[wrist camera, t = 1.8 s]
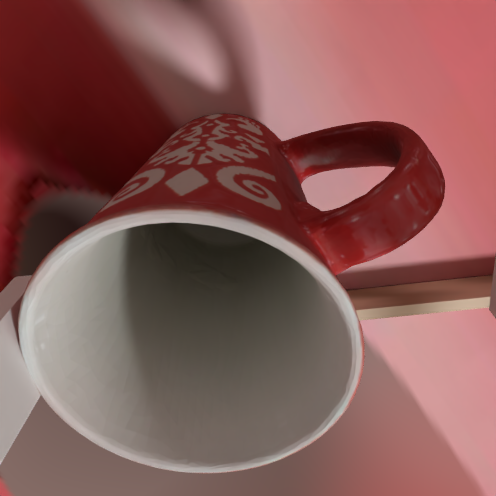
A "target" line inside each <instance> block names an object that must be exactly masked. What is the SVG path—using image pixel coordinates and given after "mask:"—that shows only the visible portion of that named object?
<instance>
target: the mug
mask: <svg viewBox="0 0 496 496" xmlns="http://www.w3.org/2000/svg"><path fill="white" fill-rule="evenodd" d="M370 166H388V167H395V169H394V170H393V171H392V172H391V173H390V174H389V175H388V176H387V177H386V178H385V179H384V180H383V181H382V182H380V183H379V184H377V185H376V186H375V187H374V188H372V189H371V190H370V191H369V192H368V193H367V194H365V195H363V196H361V197H359V198H357V199H355V200H353V201H352V202H350V203H348V204H346V205H344V206H342V207H340V208H337V209H333V210H329V211H320V210H319V209H317V208H315V207H313V206H312V205H310V204H309V203H307V200H306V197H305V195H304V193H303V190H302V188H301V183H302V182H303V181H304V180H305V179H306V178H308V177H309V176H312V175H315V174H317V173H320V172H324V171H329V170H334V169H344V168H354V167H370ZM444 193H445V180H444V177H443V173H442V170H441V168H440V166H439V164H438V162H437V161H436V159H435V158H434V156H433V155H432V153H431V152H430V150H429V149H428V147H427V146H426V144H425V143H424V142H423V140H422V139H421V138H420V137H419V135H417V134H416V133H415V132H414V131H412V130H411V129H409V128H408V127H406V126H404V125H401V124H397V123H394V122H382V121H370V122H360V123H353V124H347V125H341V126H336V127H331V128H327V129H323V130H319V131H315V132H311V133H308V134H304V135H301V136H298V137H295V138H292V139H289V140H286V141H281V140H280V139H279V138H278V137H277V136H276V135H275V134H274V133H273V132H272V131H270V130H269V129H268V128H267V127H265V126H264V125H262V124H260V123H259V122H257V121H255V120H252V119H250V118H247V117H244V116H240V115H235V114H214V115H208V116H204V117H200V118H198V119H195V120H193V121H191V122H189V123H187V124H186V125H184V126H182V127H181V128H180V129H179V130H177V131H176V132H175V133H174V134H173V135H171V136H170V137H169V138H168V139H167V141H166V142H165V143H164V144H163V145H162V146H161V147H160V148H159V149H158V151H157V152H156V153H155V154H154V155H153V156H152V157H151V158H150V159H149V160H148V161H147V162H145V163H144V165H143V166H142V167H141V168H140V169H139V170H138V171H137V172H136V174H135V175H134V176H133V177H132V178H131V179H130V180H129V181H128V182H127V183H126V184H125V185H124V186H123V187H122V188H121V189H120V190H119V191H118V192H117V193H116V194H115V195H114V196H113V197H112V198H111V200H110V201H109V202H108V203H107V204H106V205H105V206H104V207H103V208H102V209H101V210H100V211H99V212H98V213H97V214H96V215H95V216H94V217H93V218H92V219H91V220H90V221H89V223H88V224H86V225H84V226H83V227H81V228H80V229H77V230H76V231H74V232H73V233H71V234H70V235H69V236H67V237H66V238H65V239H63V240H62V241H61V242H60V243H59V244H57V245H56V246H55V247H54V248H53V249H52V250H51V251H50V252H49V253H48V254H47V255H46V257H44V259H43V260H42V261H41V263H40V264H39V265H38V267H37V268H36V270H35V272H34V273H33V275H32V277H31V279H30V280H29V282H28V284H27V287H26V289H25V292H24V294H23V297H22V301H21V305H20V311H19V315H18V332H19V345H20V348H21V352H22V356H23V359H24V362H25V364H26V367H27V369H28V371H29V373H30V375H31V377H32V379H33V381H34V383H35V385H36V387H37V389H38V391H39V393H40V394H41V396H42V397H43V398H44V400H45V401H46V402H47V404H48V405H49V406H50V407H51V408H52V409H53V410H54V412H55V413H56V414H57V415H58V416H59V417H60V418H61V419H62V420H64V421H65V422H66V423H67V424H68V425H69V426H71V427H72V428H73V429H75V430H76V431H77V432H78V433H80V434H81V435H83V436H85V437H86V438H87V439H89V440H90V441H92V442H93V443H95V444H97V445H98V446H100V447H102V448H104V449H106V450H109V451H110V452H112V453H114V454H117V455H119V456H121V457H124V458H126V459H129V460H132V461H135V462H138V463H141V464H145V465H148V466H152V467H156V468H160V469H166V470H171V471H180V472H189V473H223V472H232V471H240V470H246V469H251V468H255V467H259V466H263V465H267V464H269V463H272V462H274V461H277V460H280V459H283V458H285V457H287V456H289V455H291V454H293V453H295V452H297V451H299V450H301V449H303V448H304V447H306V446H308V445H309V444H311V443H313V442H314V441H315V440H317V439H318V438H319V437H321V436H322V435H323V434H324V433H325V432H326V431H327V430H329V429H330V428H331V427H332V426H333V425H334V424H335V423H336V422H337V421H338V420H339V419H340V417H341V416H342V415H343V413H344V412H345V410H346V409H347V408H348V407H349V406H350V404H351V401H352V400H353V398H354V396H355V394H356V391H357V388H358V386H359V383H360V380H361V376H362V372H363V366H364V339H363V333H362V328H361V324H360V321H359V318H358V315H357V312H356V310H355V307H354V304H353V302H352V301H351V299H350V297H349V294H348V293H347V291H346V290H345V288H344V287H343V286H342V284H341V283H340V282H339V280H338V279H337V277H336V275H337V274H339V273H341V272H342V271H344V270H346V269H348V268H349V267H351V266H353V265H357V264H360V263H364V262H367V261H370V260H373V259H375V258H377V257H380V256H382V255H384V254H387V253H389V252H391V251H393V250H394V249H396V248H398V247H400V246H402V245H403V244H405V243H406V242H407V241H409V240H410V239H412V238H413V237H414V236H416V235H417V234H418V233H419V232H420V231H421V230H423V229H424V228H425V227H426V226H427V224H428V223H429V222H430V221H431V220H432V219H433V218H434V216H435V215H436V214H437V212H438V211H439V209H440V207H441V205H442V202H443V199H444Z"/></svg>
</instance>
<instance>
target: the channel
mask: <svg viewBox="0 0 496 496" xmlns="http://www.w3.org/2000/svg"><path fill="white" fill-rule="evenodd" d="M492 280H493V275H489V276H479V277H469V278H460V279H450V280H441V281H431V282H422V283H412V284H403V285H393V286H384V287H374V288H365V289H355V290H346V291H347V293H348V294H349V297H350V299H351V301H352V302H353V304H354V307H355V310H356V312H357V315H358V318H359V320H368V319H378V318H388V317H398V316H409V315H419V314H429V313H439V312H449V311H459V310H469V309H479V308H489V305H490V296H491V288H492Z"/></svg>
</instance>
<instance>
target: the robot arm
mask: <svg viewBox="0 0 496 496" xmlns="http://www.w3.org/2000/svg"><path fill="white" fill-rule="evenodd" d="M31 277H32V275H30V276H20V277H15V278H14V279H13V280H12V281H11V282H10V283H9V284H8V285H7V287H6V288H5V289H4V290H3V291H2V292H1V293H0V464H1V463H2V461H3V459H4V458H5V456H6V454H7V452H8V451H9V449H10V447H11V446H12V444H13V442H14V440H15V439H16V437H17V435H18V433H19V432H20V430H21V428H22V427H23V425H24V423H25V421H26V420H27V418H28V416H29V415H30V413H31V411H32V409H33V408H34V406H35V404H36V402H37V401H38V399H39V397H40V396H41V394H40V393H39V391H38V389H37V387H36V385H35V383H34V381H33V379H32V377H31V375H30V373H29V371H28V369H27V367H26V364H25V362H24V359H23V356H22V352H21V348H20V345H19V332H18V315H19V311H20V305H21V301H22V297H23V294H24V292H25V289H26V287H27V284H28V282H29V280H30V279H31ZM489 310H490V311H491V313H492V314H493V315H494V317H495V318H496V256H495V264H494V272H493V280H492V288H491V296H490V305H489Z"/></svg>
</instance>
